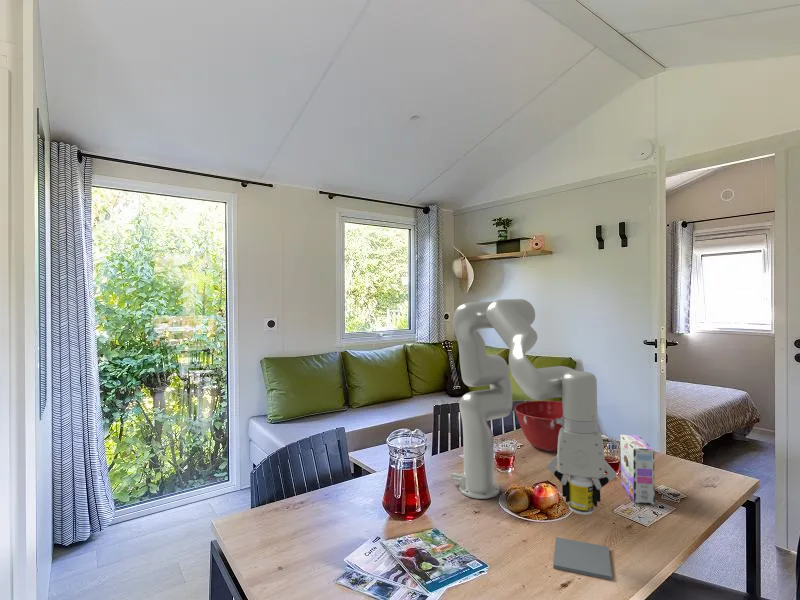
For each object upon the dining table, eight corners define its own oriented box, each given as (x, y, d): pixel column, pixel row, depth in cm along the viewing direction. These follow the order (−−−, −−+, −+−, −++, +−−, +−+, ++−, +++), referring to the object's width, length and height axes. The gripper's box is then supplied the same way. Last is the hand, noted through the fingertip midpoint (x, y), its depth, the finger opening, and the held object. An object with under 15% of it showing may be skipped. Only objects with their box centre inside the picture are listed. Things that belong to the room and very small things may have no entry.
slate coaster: (553, 568, 99) (553, 564, 99) (555, 540, 110) (555, 536, 110) (611, 580, 94) (611, 576, 94) (608, 549, 105) (608, 546, 105)
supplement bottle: (592, 517, 98) (591, 474, 98) (566, 511, 101) (566, 469, 101) (595, 507, 103) (594, 466, 103) (571, 502, 106) (570, 462, 105)
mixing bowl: (518, 458, 165) (518, 417, 165) (512, 433, 193) (511, 399, 193) (597, 461, 160) (597, 419, 160) (579, 436, 188) (578, 400, 188)
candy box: (655, 505, 127) (655, 449, 126) (633, 504, 128) (633, 448, 128) (639, 485, 140) (639, 434, 140) (619, 483, 141) (619, 433, 141)
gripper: (540, 426, 101) (541, 503, 102) (622, 433, 95) (623, 515, 95) (542, 417, 108) (544, 489, 109) (619, 423, 102) (620, 500, 102)
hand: (581, 501), depth 102 cm, fingers closed on supplement bottle, 5 cm apart
